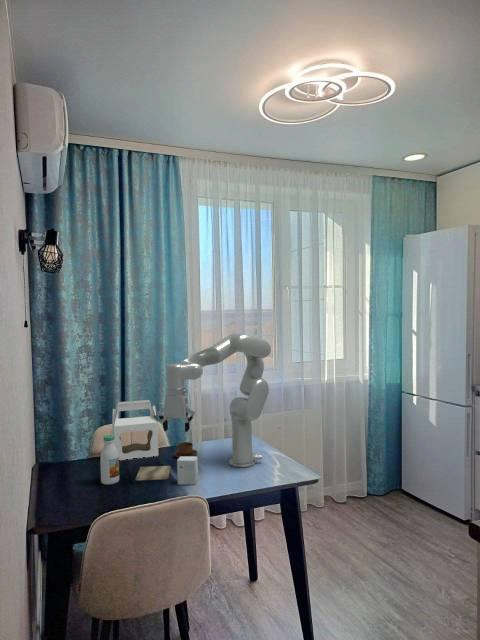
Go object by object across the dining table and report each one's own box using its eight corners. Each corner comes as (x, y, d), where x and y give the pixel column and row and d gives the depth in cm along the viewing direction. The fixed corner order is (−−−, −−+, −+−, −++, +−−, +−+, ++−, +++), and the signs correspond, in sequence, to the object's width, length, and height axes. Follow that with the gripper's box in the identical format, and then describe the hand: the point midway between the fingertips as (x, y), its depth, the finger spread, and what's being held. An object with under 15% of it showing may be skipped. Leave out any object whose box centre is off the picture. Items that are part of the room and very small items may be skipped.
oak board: (170, 468, 217) (170, 465, 217) (168, 479, 203) (167, 476, 203) (140, 469, 217) (140, 466, 216) (135, 480, 203) (135, 477, 203)
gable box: (114, 461, 230) (112, 405, 229) (112, 453, 242) (111, 400, 242) (159, 456, 237) (157, 401, 236) (155, 448, 249) (154, 397, 249)
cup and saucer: (177, 452, 243) (177, 440, 242) (199, 453, 241) (199, 441, 241) (170, 459, 231) (170, 447, 231) (194, 460, 229) (194, 448, 229)
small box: (198, 480, 201) (198, 456, 201) (196, 485, 196) (195, 460, 196) (180, 479, 202) (179, 455, 202) (177, 484, 197) (176, 460, 196)
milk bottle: (102, 486, 197) (101, 439, 196) (99, 480, 203) (98, 435, 203) (121, 482, 200) (120, 436, 200) (117, 477, 207) (116, 432, 207)
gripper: (197, 390, 205) (197, 429, 205) (160, 390, 208) (160, 428, 209) (192, 393, 198) (192, 433, 198) (153, 393, 201) (154, 432, 201)
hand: (176, 430), depth 203 cm, fingers open, 9 cm apart
